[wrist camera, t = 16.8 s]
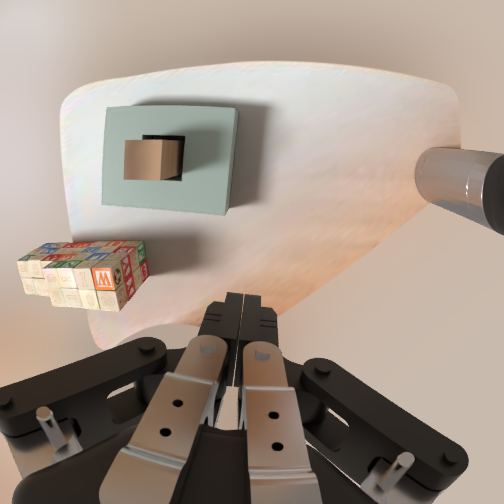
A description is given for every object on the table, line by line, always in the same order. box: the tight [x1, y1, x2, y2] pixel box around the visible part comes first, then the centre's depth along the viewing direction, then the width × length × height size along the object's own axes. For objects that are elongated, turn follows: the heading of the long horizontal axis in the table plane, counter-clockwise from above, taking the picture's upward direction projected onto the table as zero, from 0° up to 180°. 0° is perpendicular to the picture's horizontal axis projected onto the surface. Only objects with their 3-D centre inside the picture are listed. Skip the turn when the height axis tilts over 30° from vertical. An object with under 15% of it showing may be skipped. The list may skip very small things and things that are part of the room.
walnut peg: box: [124, 140, 185, 181], centre depth 37 cm, size 5×5×12 cm
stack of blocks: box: [17, 241, 149, 311], centre depth 42 cm, size 21×6×12 cm, turn 91°
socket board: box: [102, 105, 239, 216], centre depth 40 cm, size 18×14×5 cm
